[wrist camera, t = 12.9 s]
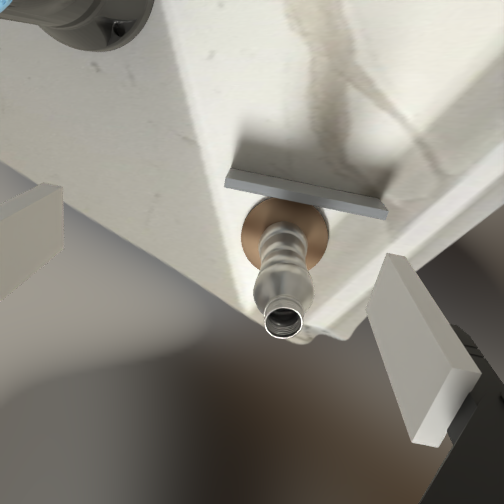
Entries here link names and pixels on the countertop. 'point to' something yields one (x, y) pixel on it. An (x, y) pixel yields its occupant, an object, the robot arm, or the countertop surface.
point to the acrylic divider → (305, 193)
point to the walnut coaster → (290, 212)
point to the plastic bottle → (283, 279)
